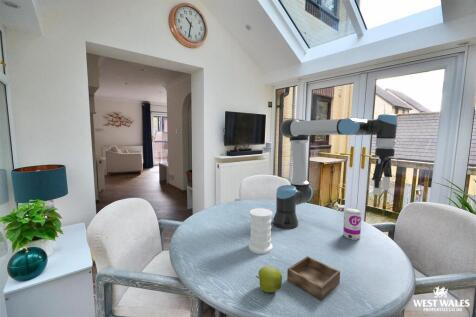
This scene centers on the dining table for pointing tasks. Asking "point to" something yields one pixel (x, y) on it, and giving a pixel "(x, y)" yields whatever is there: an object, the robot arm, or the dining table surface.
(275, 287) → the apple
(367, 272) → the dining table surface
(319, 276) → the walnut box
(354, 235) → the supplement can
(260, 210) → the decorative container
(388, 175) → the robot arm
